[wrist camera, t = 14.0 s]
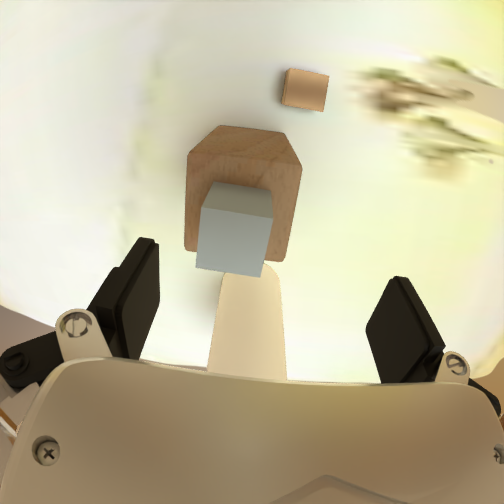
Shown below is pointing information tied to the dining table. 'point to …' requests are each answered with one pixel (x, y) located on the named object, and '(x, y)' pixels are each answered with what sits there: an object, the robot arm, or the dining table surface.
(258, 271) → the slate block
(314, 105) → the oak block
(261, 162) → the wooden block
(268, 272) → the tall pillar cylinder
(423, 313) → the robot arm
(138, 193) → the dining table surface
